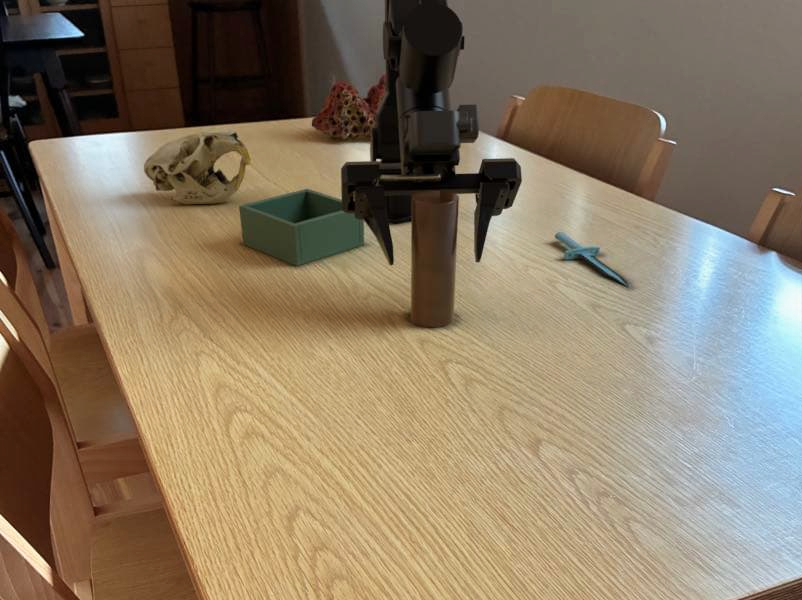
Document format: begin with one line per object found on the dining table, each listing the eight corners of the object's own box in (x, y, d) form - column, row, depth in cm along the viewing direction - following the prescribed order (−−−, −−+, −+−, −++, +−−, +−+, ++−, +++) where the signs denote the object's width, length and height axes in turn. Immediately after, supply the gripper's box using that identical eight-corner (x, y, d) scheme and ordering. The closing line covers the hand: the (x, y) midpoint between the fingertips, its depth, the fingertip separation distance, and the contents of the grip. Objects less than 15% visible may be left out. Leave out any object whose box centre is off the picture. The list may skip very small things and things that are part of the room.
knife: (647, 279, 98) (612, 285, 96) (645, 288, 98) (610, 294, 97) (574, 229, 109) (542, 233, 108) (573, 237, 110) (541, 242, 109)
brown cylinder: (437, 306, 92) (441, 187, 84) (462, 321, 89) (468, 198, 81) (402, 315, 90) (402, 194, 82) (426, 331, 87) (429, 206, 79)
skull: (248, 200, 118) (222, 126, 112) (156, 225, 123) (127, 155, 117) (271, 185, 125) (247, 115, 120) (183, 209, 130) (157, 143, 125)
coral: (423, 88, 159) (414, 75, 145) (406, 160, 164) (396, 153, 150) (334, 63, 159) (317, 47, 146) (320, 136, 164) (302, 127, 151)
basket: (309, 225, 115) (307, 188, 112) (364, 244, 109) (363, 206, 106) (243, 244, 109) (238, 205, 106) (296, 266, 102) (293, 226, 99)
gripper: (336, 72, 78) (346, 226, 76) (527, 70, 79) (540, 220, 77) (338, 142, 89) (346, 278, 87) (505, 139, 90) (516, 272, 88)
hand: (435, 262), depth 85 cm, fingers open, 9 cm apart
